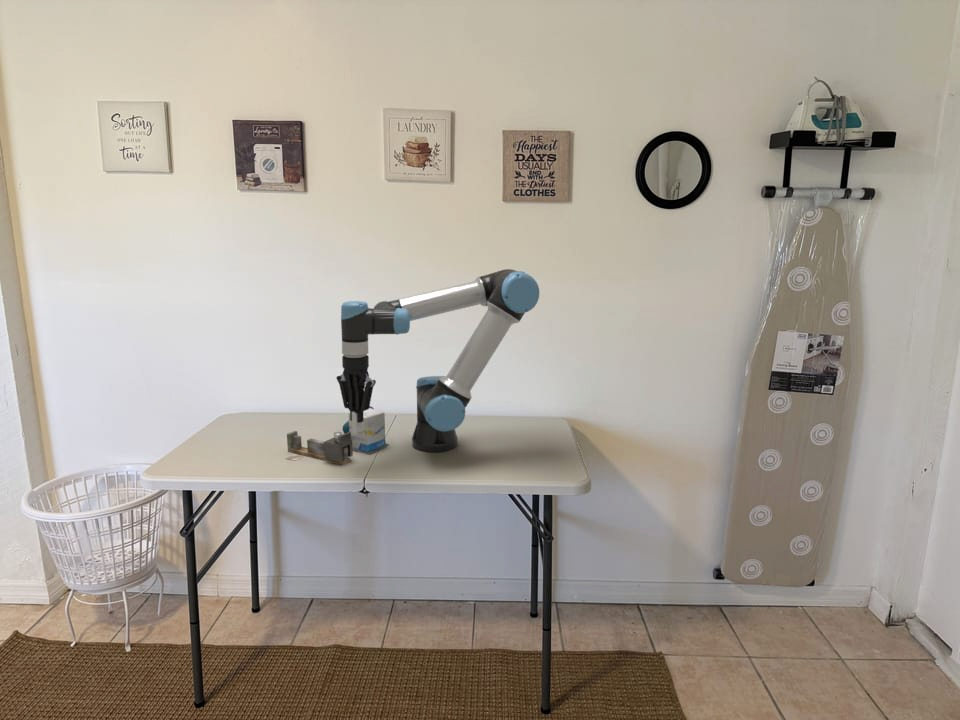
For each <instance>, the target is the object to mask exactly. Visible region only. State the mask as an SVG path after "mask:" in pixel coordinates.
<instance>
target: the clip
mask: <svg viewBox="0 0 960 720" xmlns="http://www.w3.org/2000/svg"><path fill="white" fill-rule="evenodd" d="M345 446H347V447H348V458H352V457H353V456H354V451H353V446H352V439H351V432H348V433H345V434H344V433H343V431H342V432H341V431H336V432H333V437H332V438H330V439H328V440H325V441H324V453H325V459H329V460H333V461H337V462H341V461H343V457H342V448H343V447H345Z"/></svg>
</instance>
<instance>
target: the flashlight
mask: <svg viewBox="0 0 960 720" xmlns="http://www.w3.org/2000/svg"><path fill="white" fill-rule="evenodd" d="M369 408H371V409H375V408H374V407H373V406H369ZM348 432H349V420H347V421H346V422H345V423H343V426H342V433H343V434H345V433H348Z"/></svg>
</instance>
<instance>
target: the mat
mask: <svg viewBox="0 0 960 720" xmlns="http://www.w3.org/2000/svg"><path fill="white" fill-rule="evenodd" d="M387 446H389V443H386V442H385V446H383V447H380V448H378V449H375V450H372V451H369V452H365V451H362V450H359V449H356V448H353V452H357V453H362V454H366V455H372V454H375V453H376V452H378V451H380V450H382V449H384V448H386V447H387Z"/></svg>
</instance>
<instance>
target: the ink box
mask: <svg viewBox="0 0 960 720" xmlns="http://www.w3.org/2000/svg"><path fill="white" fill-rule="evenodd" d="M385 415H386V414H385V412H383V411H381V410H377V409H375V408H374V409H371V408H369V409H368V410H365V411H364V412H363V422H362V431H361V432H359V433H357V434H355V433H352V421H351V420H350V412H349V413H348V421H349V432H351V439H352V446H353V448H356V449H359V450H362V451H365V452H369V451H372V450H375V449H378V448H380V447H383V446H385V443H386V426H385V425H386V424H385V423H386V422H385V421H386V419H385Z"/></svg>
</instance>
